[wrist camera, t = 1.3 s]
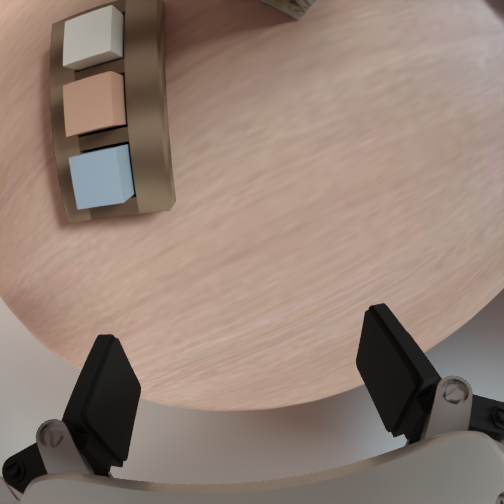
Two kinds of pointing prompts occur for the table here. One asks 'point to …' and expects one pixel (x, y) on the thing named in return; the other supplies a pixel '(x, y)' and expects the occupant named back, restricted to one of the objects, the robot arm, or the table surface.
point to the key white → (93, 38)
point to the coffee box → (291, 6)
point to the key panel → (138, 113)
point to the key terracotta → (94, 103)
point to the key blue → (102, 177)
